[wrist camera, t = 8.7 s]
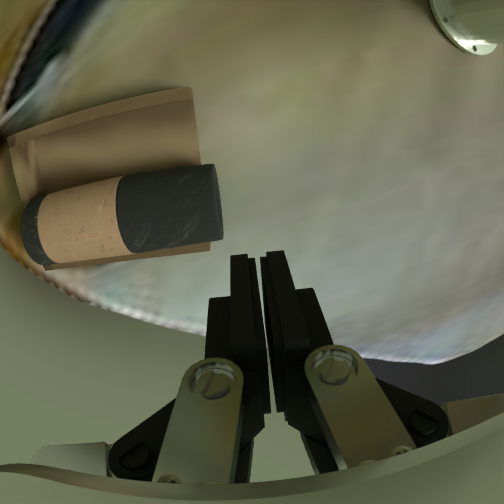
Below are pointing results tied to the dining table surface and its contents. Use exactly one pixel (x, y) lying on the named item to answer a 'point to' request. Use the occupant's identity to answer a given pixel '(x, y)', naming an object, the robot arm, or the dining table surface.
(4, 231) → the dining table surface
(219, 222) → the travel mug
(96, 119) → the tray
